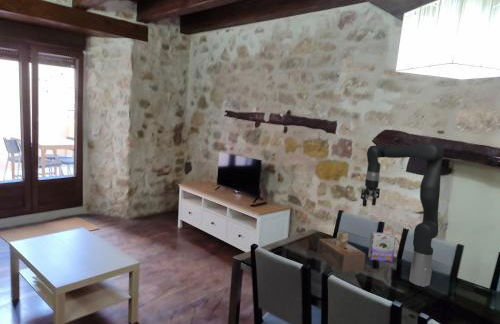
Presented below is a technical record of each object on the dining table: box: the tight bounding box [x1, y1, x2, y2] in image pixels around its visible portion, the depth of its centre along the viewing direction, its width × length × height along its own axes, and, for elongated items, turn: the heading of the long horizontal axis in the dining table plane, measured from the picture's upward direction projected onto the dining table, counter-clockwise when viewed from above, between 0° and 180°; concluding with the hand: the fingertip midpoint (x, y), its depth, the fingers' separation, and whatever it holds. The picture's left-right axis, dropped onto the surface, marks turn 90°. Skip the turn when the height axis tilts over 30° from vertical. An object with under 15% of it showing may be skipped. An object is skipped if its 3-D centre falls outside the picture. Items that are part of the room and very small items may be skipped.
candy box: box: [367, 231, 397, 263], centre depth 218 cm, size 14×6×16 cm, turn 84°
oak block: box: [336, 231, 349, 248], centre depth 209 cm, size 4×4×8 cm
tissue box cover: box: [317, 237, 366, 273], centre depth 210 cm, size 26×14×10 cm, turn 21°
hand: (369, 205), depth 212 cm, fingers open, 8 cm apart
